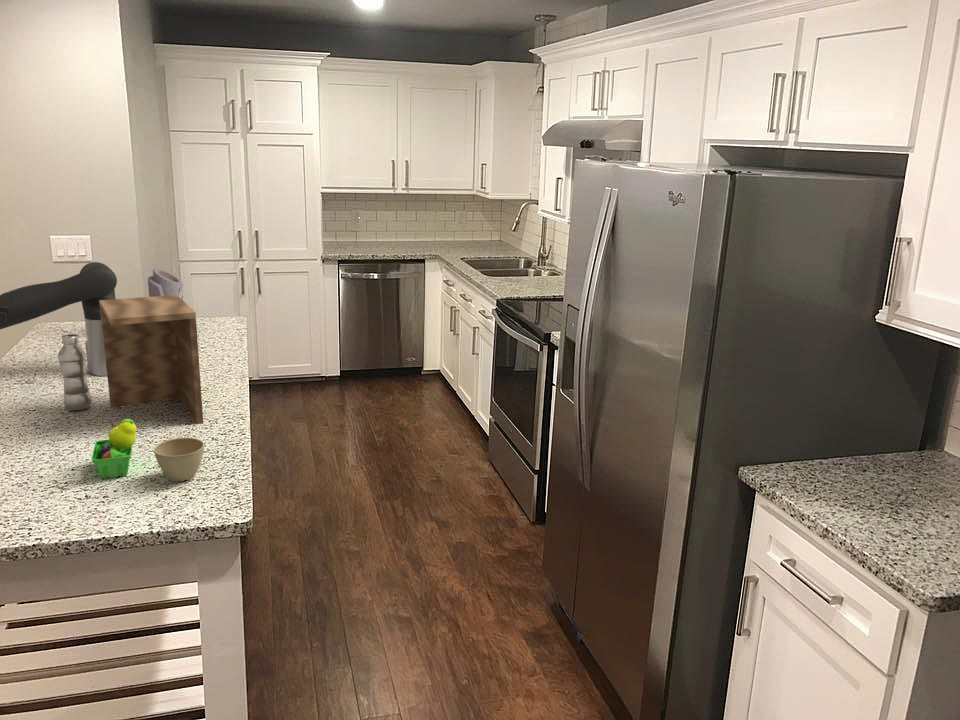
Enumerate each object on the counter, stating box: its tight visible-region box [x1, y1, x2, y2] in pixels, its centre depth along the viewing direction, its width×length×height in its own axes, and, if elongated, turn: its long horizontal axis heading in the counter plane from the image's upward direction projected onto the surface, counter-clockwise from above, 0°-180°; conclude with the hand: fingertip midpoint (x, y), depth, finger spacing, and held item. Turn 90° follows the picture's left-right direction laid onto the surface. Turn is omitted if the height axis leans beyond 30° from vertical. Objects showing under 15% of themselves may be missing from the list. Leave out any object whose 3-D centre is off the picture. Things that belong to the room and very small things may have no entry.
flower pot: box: [153, 437, 205, 482], centre depth 163 cm, size 10×10×7 cm
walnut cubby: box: [99, 295, 204, 425], centre depth 195 cm, size 19×23×29 cm
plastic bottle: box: [57, 333, 93, 411], centre depth 198 cm, size 6×7×20 cm
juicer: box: [147, 268, 184, 301], centre depth 271 cm, size 30×16×24 cm, turn 99°
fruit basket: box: [91, 418, 137, 479], centre depth 165 cm, size 11×9×11 cm
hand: (7, 314), depth 188 cm, fingers open, 8 cm apart
